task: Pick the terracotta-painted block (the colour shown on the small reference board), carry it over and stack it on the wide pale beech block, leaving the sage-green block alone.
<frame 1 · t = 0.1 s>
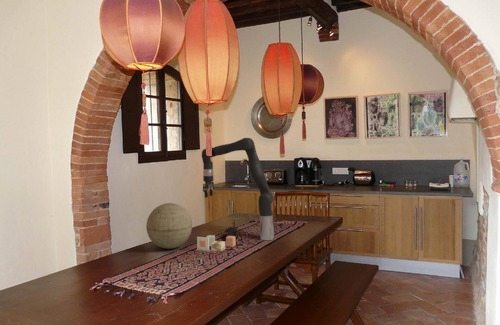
hand: (208, 196, 305), 29 cm above the table, fingers open, 8 cm apart
terracotta block: (230, 245, 275), on the table
celestial globe: (170, 248, 272), on the table
sage block: (210, 244, 278), on the table
helicopter: (231, 237, 301), on the table
beech base block: (218, 250, 265), on the table
reference board: (203, 251, 262), on the table
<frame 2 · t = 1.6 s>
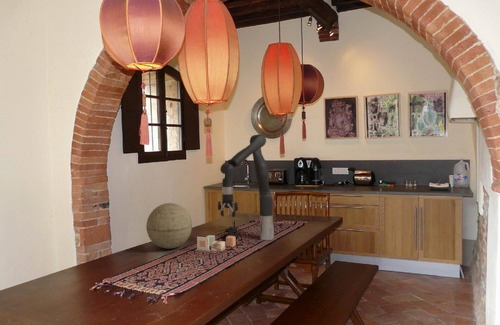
hand: (227, 216, 277), 19 cm above the table, fingers open, 8 cm apart
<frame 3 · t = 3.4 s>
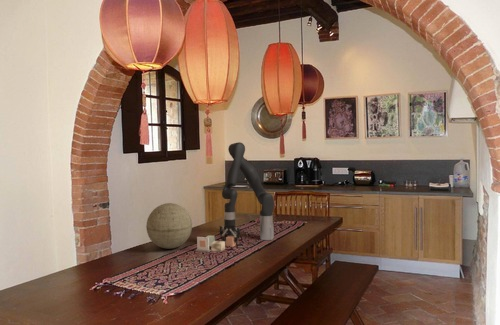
hand: (229, 241, 275), 2 cm above the table, fingers open, 8 cm apart
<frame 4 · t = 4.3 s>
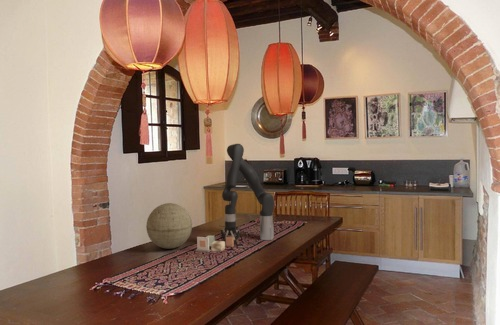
hand: (230, 244, 275), 0 cm above the table, fingers closed on terracotta block, 5 cm apart
terracotta block: (230, 245, 275), on the table, touching gripper
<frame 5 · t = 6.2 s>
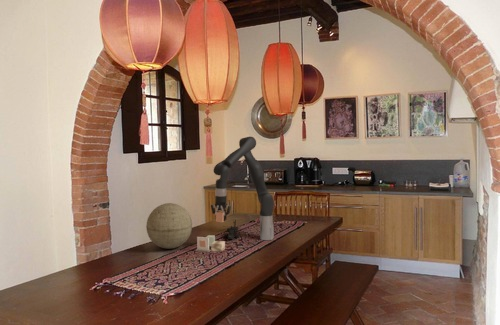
hand: (220, 220, 268), 18 cm above the table, fingers closed on terracotta block, 5 cm apart
terracotta block: (220, 221, 268), point 18 cm above the table, touching gripper
when the fingers open (7 cm above the table, at t = 8.9 s): terracotta block drops 2 cm, resting on beech base block.
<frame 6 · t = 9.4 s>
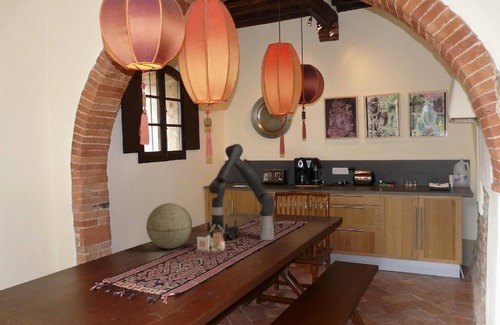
hand: (218, 238, 265), 8 cm above the table, fingers open, 8 cm apart
terracotta block: (218, 242, 265), point 5 cm above the table, touching beech base block
beech base block: (218, 250, 265), on the table, touching terracotta block
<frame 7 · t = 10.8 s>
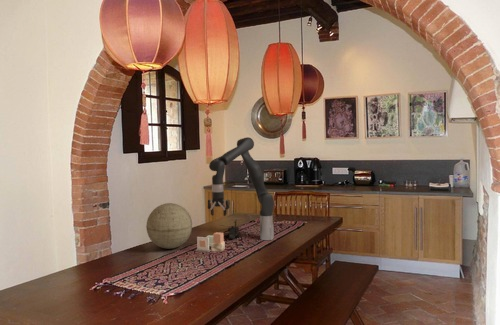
hand: (218, 215, 265), 22 cm above the table, fingers open, 8 cm apart
terracotta block: (218, 242, 265), point 5 cm above the table
beech base block: (218, 250, 265), on the table
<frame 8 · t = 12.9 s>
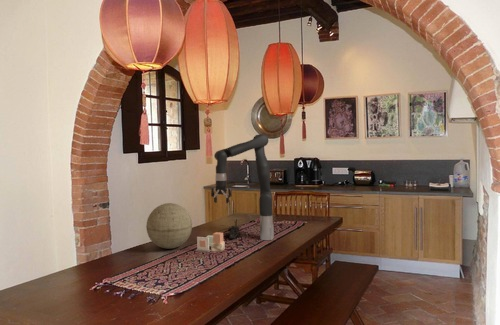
hand: (221, 203, 280), 28 cm above the table, fingers open, 8 cm apart
at the end: terracotta block 0.2 cm off-centre on the beech base block, point 5.0 cm above the beech base block's base; terracotta block tilted 0°; the gripper is holding nothing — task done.
